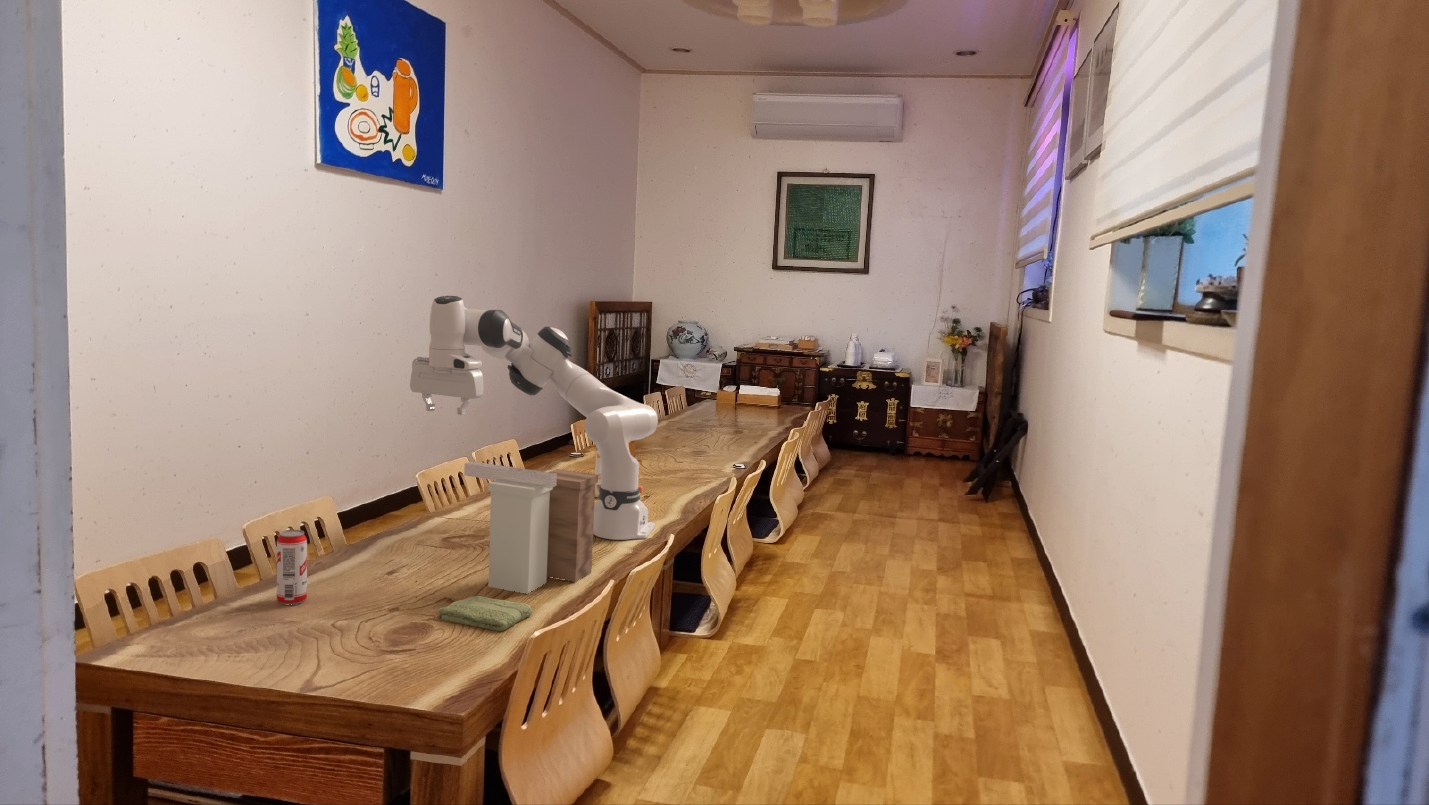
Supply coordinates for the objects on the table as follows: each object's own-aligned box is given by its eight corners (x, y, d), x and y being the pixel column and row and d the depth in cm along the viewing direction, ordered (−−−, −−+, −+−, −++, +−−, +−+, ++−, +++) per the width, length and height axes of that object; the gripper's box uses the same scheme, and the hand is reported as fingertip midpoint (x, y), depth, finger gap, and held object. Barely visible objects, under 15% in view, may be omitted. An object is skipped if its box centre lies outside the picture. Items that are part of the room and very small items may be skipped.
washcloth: (469, 603, 223) (470, 589, 223) (535, 617, 217) (535, 603, 216) (434, 620, 211) (434, 606, 211) (502, 636, 205) (502, 621, 204)
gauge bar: (471, 473, 239) (471, 461, 238) (556, 485, 231) (556, 473, 231) (464, 475, 236) (464, 463, 236) (550, 488, 228) (550, 475, 228)
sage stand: (507, 575, 243) (510, 475, 239) (549, 583, 239) (552, 481, 235) (485, 587, 233) (488, 482, 230) (528, 595, 229) (532, 489, 226)
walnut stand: (552, 565, 253) (556, 469, 249) (593, 572, 249) (598, 474, 246) (533, 575, 244) (537, 476, 240) (576, 583, 240) (580, 482, 236)
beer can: (274, 607, 212) (274, 537, 210) (279, 597, 218) (279, 529, 216) (304, 605, 214) (305, 536, 212) (308, 596, 220) (308, 528, 218)
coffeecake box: (613, 498, 329) (616, 443, 326) (592, 497, 329) (595, 441, 326) (618, 489, 344) (621, 435, 341) (599, 487, 344) (601, 434, 341)
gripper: (405, 356, 246) (404, 409, 248) (473, 363, 240) (472, 418, 242) (420, 355, 252) (419, 407, 254) (487, 362, 246) (486, 415, 248)
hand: (445, 412), depth 248 cm, fingers open, 8 cm apart
